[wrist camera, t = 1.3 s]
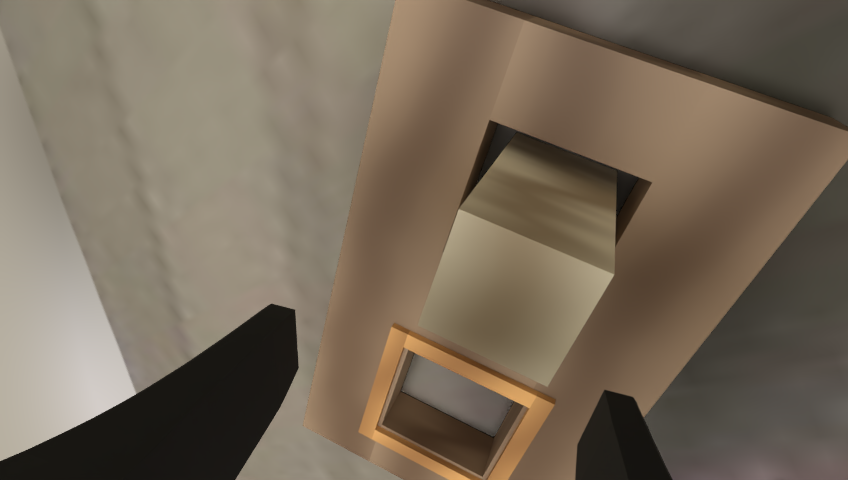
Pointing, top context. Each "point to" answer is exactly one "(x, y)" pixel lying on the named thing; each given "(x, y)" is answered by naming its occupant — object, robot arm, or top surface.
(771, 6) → the top surface
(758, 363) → the top surface
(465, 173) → the wooden peg tray
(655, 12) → the top surface
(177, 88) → the top surface
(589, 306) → the peg
